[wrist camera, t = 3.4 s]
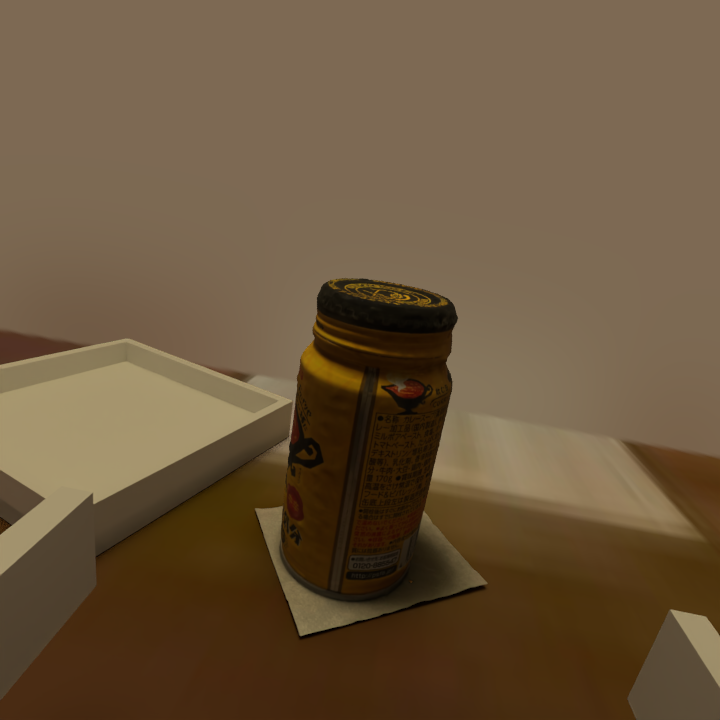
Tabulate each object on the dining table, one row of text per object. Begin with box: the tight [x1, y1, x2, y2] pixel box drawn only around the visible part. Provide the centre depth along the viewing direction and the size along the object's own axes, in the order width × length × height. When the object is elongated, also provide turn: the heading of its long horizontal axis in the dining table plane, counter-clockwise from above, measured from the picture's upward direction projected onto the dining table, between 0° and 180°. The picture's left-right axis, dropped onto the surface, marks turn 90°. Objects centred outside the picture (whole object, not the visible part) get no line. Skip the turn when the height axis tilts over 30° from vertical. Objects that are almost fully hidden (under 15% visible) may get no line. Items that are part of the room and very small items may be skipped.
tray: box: [0, 338, 293, 557], centre depth 27 cm, size 15×14×2 cm
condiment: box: [255, 278, 487, 636], centre depth 20 cm, size 7×8×12 cm
